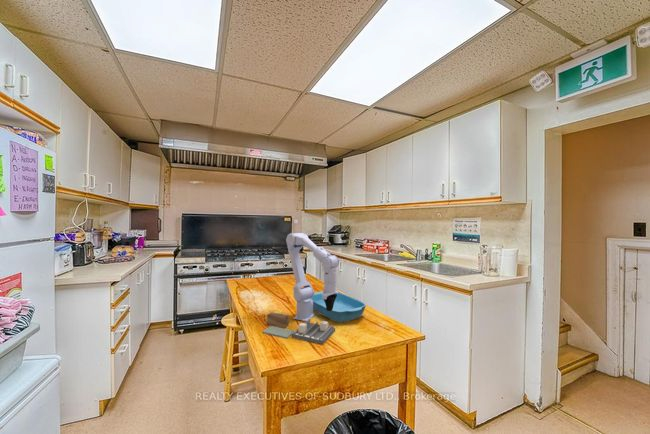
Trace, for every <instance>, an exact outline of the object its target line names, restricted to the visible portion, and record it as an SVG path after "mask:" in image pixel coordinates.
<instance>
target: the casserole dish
mask: <svg viewBox="0 0 650 434" xmlns="http://www.w3.org/2000/svg"><path fill="white" fill-rule="evenodd" d="M322 294H323V291H318V292H314V296H313V297H312V301H313V311H316V312H317V313H318V314H321V315H323V316H324V317H326V318H327V319H330V320H331V321H334V322H336V323H345V322H349V321H352V320H353V321H354V320H356V319H359V318H360V317H362V315H363V313H364V312H365V308H366V306H367V304H366V302H364V301H362V300H359V299H357V298H354V297H352V296H350V295H348V294H345V293H344V292H343V293H342V292H340V291H338V293H337V297H336V299H335V302H334V306H333V309H332V310H331V311H327V309H326V305H325V301H324V299H322Z"/></svg>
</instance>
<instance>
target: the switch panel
mask: <svg viewBox="0 0 650 434" xmlns="http://www.w3.org/2000/svg"><path fill="white" fill-rule="evenodd" d="M304 323H305V324H307V331H306V332H304V333H298V328H297V329H296V330H293V331H294V332H293V333H292V334H291V336H290V338H292V339H293V338H294V339H297V340H301V341H306V342H310V343H314V344H320V345H324V344H325V343H326V342H327V341H328V339H330V338H331V336H332V335H333V334H334V333H335V332H336V327H334V324H331V325H328V329H327V330H326V331H320V323H319V322H318V321H316V322H315V323H313V322H311V320H310V319H309V320H308V321H305V322H304Z"/></svg>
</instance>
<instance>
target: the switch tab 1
mask: <svg viewBox="0 0 650 434" xmlns="http://www.w3.org/2000/svg"><path fill="white" fill-rule="evenodd" d="M305 323H306V322H300V323H299V324H298V327H297V329H298V333H304V332H306V331H307V324H305Z"/></svg>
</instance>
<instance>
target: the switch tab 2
mask: <svg viewBox="0 0 650 434" xmlns="http://www.w3.org/2000/svg"><path fill="white" fill-rule="evenodd" d="M319 325H320V331H326V330H327V329H328V326H329V322H328V321H326V320H324V321H323V320H321V321H320V322H319Z"/></svg>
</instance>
